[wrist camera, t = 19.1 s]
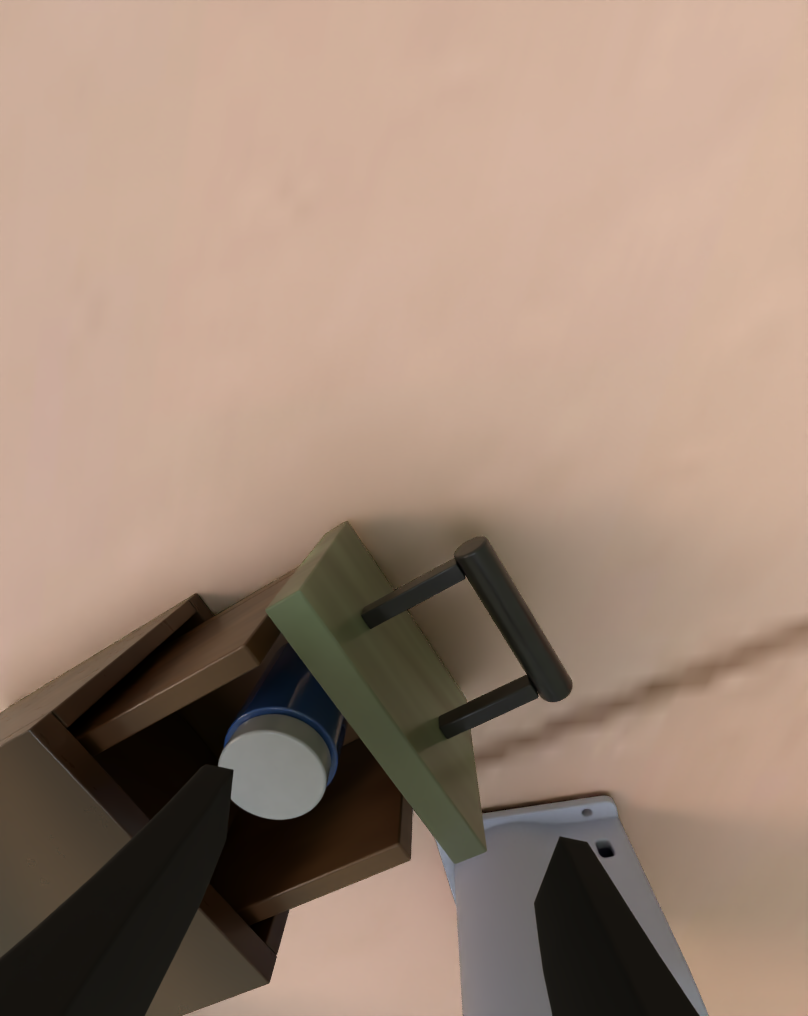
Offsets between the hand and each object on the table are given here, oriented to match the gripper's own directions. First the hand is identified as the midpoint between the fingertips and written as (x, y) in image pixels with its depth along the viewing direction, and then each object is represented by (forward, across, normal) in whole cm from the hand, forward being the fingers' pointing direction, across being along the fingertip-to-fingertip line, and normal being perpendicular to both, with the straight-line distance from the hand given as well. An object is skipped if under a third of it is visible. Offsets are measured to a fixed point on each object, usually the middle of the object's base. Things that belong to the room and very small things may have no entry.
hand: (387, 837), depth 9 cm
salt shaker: (+8, +4, +3) cm, 10 cm away
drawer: (+10, +3, +3) cm, 10 cm away
